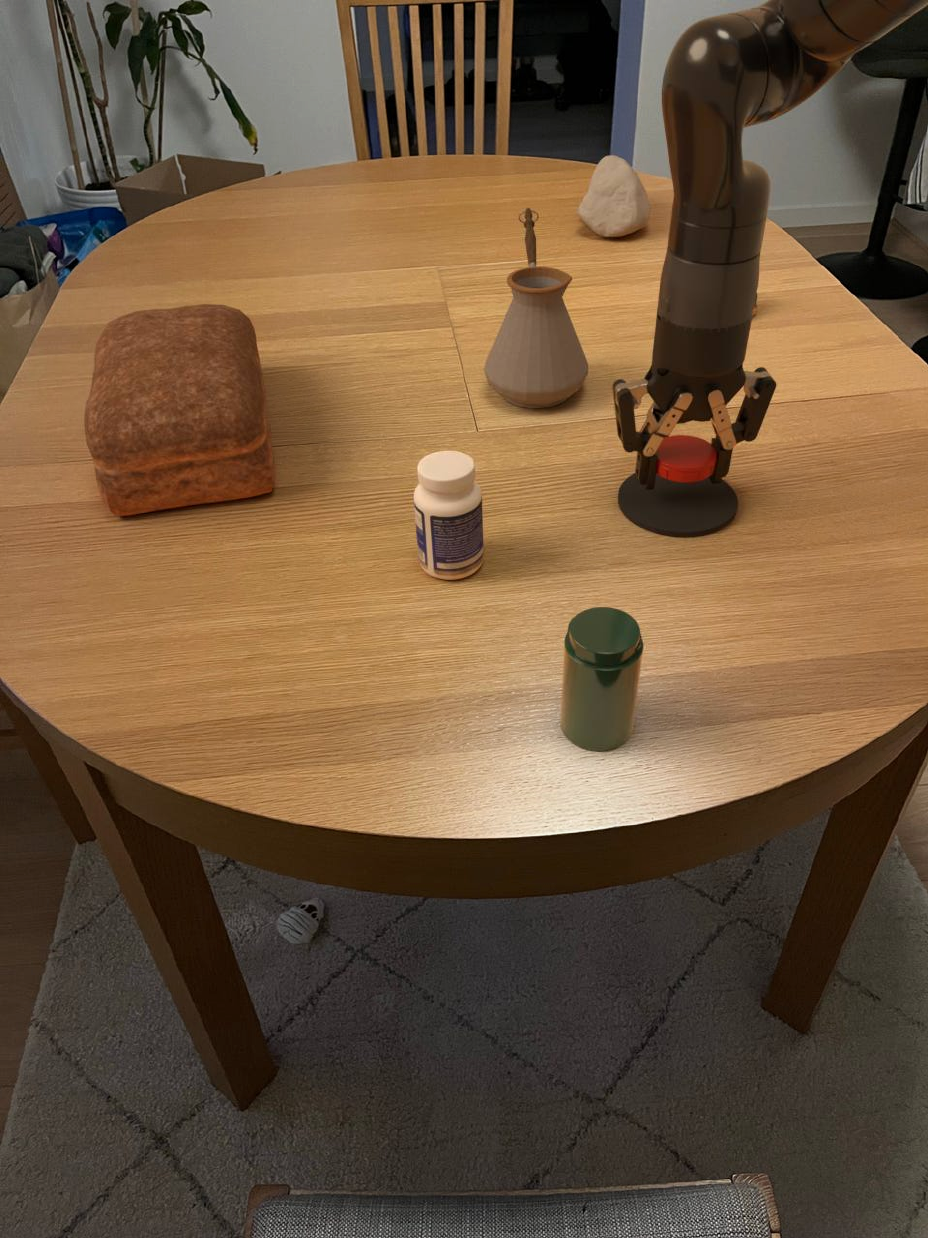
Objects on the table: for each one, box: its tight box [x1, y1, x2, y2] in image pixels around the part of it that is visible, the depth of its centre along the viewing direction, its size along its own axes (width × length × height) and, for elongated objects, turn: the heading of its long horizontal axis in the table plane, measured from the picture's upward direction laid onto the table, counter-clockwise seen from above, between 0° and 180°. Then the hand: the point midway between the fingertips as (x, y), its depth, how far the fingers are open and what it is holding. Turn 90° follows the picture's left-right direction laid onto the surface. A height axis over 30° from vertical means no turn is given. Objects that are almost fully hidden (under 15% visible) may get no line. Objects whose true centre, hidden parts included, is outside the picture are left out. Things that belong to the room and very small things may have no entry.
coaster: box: [617, 472, 739, 538], centre depth 87 cm, size 11×11×1 cm
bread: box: [83, 303, 275, 518], centre depth 95 cm, size 17×29×11 cm, turn 12°
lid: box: [656, 434, 717, 483], centre depth 84 cm, size 6×6×2 cm
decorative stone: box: [576, 154, 652, 238], centre depth 141 cm, size 17×10×10 cm
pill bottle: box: [413, 450, 485, 581], centre depth 78 cm, size 6×6×10 cm
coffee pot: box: [483, 207, 590, 409], centre depth 103 cm, size 21×12×15 cm, turn 1°
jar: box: [559, 606, 644, 752], centre depth 64 cm, size 5×5×9 cm
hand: (680, 481), depth 86 cm, fingers closed on lid, 5 cm apart
